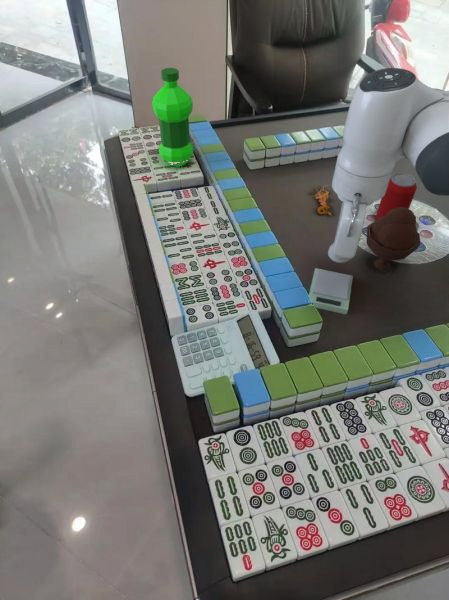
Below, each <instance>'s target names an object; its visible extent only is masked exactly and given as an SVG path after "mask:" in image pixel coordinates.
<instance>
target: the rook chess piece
mask: <svg viewBox="0 0 449 600" xmlns="http://www.w3.org/2000/svg"><path fill="white" fill-rule="evenodd" d="M333 246H334V242H333V243H332V244H331V245H330V246H329V247H328V251H327V255H328V257H329V258H330V260H331V261H333V262H335V263H337V264H338V263H339V264H344V263H347V262H348V261H350V260H351V259H348V258H343V257H338V256H335V255H333Z"/></svg>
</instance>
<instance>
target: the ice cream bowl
mask: <svg viewBox="0 0 449 600" xmlns="http://www.w3.org/2000/svg"><path fill="white" fill-rule="evenodd" d="M416 224H417V216H416V215H415V213H414V211H413V210H411V209H410V208H409V209H408V208H405V207H398V208H395V209H392V210H391V211H389V212H388V213H387V214H386V216H383V217H381V218H379V219H376V218H375V220H374V221H373V222H371V223H369V224H368V225H366V245H367V247H368V248H369V249H370V251H371V252H372V253H374V255H376V257H377V259H376V260H374V261H373V262H374V263H373V265H374V267H376V268H377V269H379V270H381V271H386V270H389V269H390V268H391V263H390V262H389V261H400V260H405V259H406V258H408V257H409V256H410V255H411V254H412V253H414V252H416V250H418V249H419V247H420V246H421V237H420V235H421V234H420V233H419V231H418V230H417V227H416ZM378 258H379V259H378Z"/></svg>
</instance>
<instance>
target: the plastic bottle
mask: <svg viewBox="0 0 449 600" xmlns="http://www.w3.org/2000/svg"><path fill="white" fill-rule="evenodd" d="M179 72H180V71H179V70H178V68H176V67H175V68H174V67H166V68H162V69H161V72H160V73H161V74H160V75H161V80H162V81H163V82H164V83H163V84H164V85H163V86H161V88H160V89H159V90H158V91H157V92H156V93H155V95H154V96H153V98H152V102H151V106H152V111H153V113H154V115H155V116H156V117H157V118H158V125H159V133H160V134H159V135H160V144H159V145H158V146H159V147H158V155H159V156H160V158H161V159H162V158H163V159H162V161H163V162H164V163H165V164H167V165H169V166H170V164H171V163H168V162H165V161H164V160H166V161H170V162H183V161H186V160H189V159H190V158H191V159H192V157H193V155H194V152H195V149H194V145H193V144H192V142H191V140H190V139H191V138H190V137H191V136H190V123H189V121H190V120H189V118H190V116H191V113H192V112H193V107H194V104H193V99H192V97H191V95H190V94H189V93H188V92H187V91H186V90H185V89H184V88H183V87H181V86H180V85H178V80H179V79H180V73H179ZM192 154H193V155H192ZM191 156H192V157H191ZM191 159H190V160H189V161H186V162H184V163H178V164H173V166H176V167H175V168H181V167H184V166H186V164H188V163H189V162H190V161H191ZM183 165H184V166H183ZM180 166H181V167H180Z"/></svg>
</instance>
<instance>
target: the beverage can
mask: <svg viewBox="0 0 449 600" xmlns="http://www.w3.org/2000/svg"><path fill="white" fill-rule="evenodd" d="M417 188H418V187H417V179H416V178H415V177H414V176H413V175H412V174H409V173H405V172H395V173H394V174H392V175H391V178H390V181H389V184H388V187H387V190H386V193H385V195H384V196H383V197H382V198H381V199H380V200H379V201H380V202H379V205H378V207H377V211H376V214H375V220H376V219H379V218H381V217H383V216H386V214H387V213H388V212H389V211H391V210H392V209H395V208H398V207H405V208H408V209H410V207H411V205H412V202H413V201H414V200H413V199H414V197H415V194H416V192H417V190H418V189H417Z"/></svg>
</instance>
